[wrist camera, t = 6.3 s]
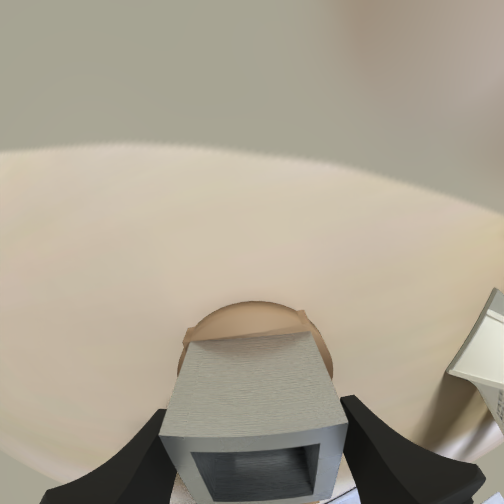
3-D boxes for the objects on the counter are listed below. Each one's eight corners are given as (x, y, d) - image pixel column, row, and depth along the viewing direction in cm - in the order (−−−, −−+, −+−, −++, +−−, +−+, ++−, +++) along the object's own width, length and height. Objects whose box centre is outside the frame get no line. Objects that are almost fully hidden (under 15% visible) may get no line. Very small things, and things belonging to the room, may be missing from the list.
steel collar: (310, 330, 13) (348, 422, 7) (309, 413, 14) (330, 498, 8) (190, 341, 13) (158, 435, 7) (210, 421, 14) (199, 507, 8)
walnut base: (327, 488, 18) (336, 524, 14) (242, 500, 18) (242, 537, 14) (321, 287, 14) (350, 329, 9) (165, 313, 14) (136, 360, 9)
